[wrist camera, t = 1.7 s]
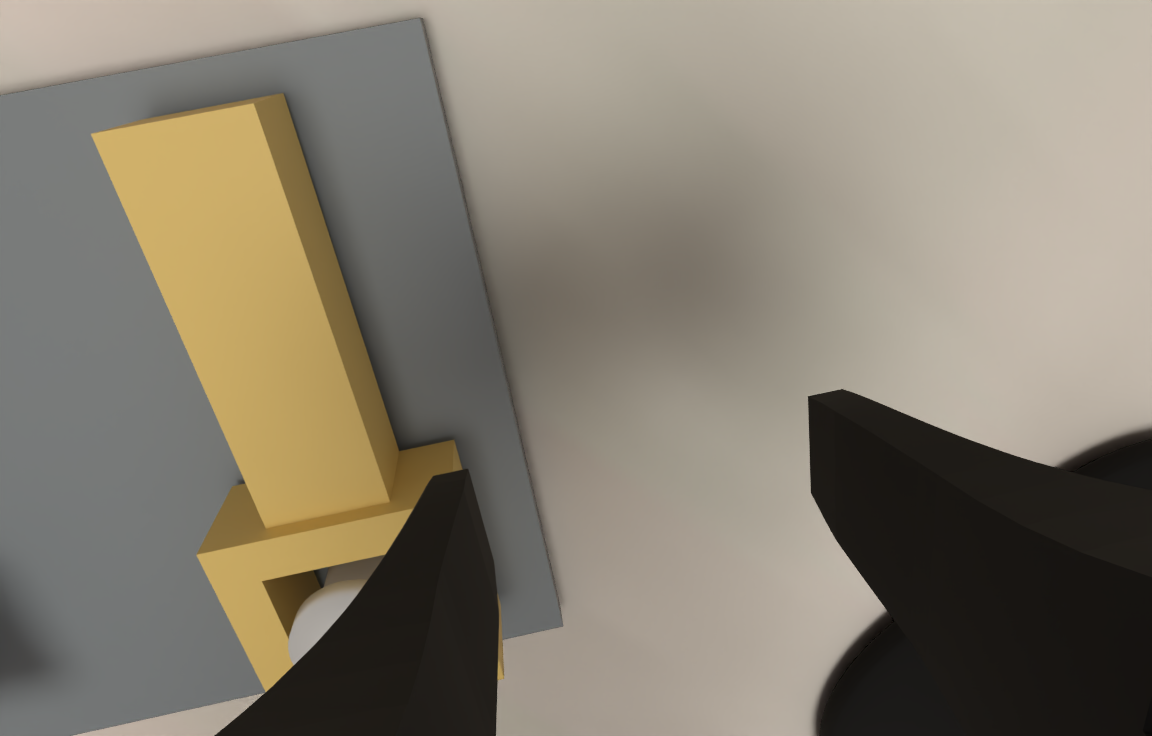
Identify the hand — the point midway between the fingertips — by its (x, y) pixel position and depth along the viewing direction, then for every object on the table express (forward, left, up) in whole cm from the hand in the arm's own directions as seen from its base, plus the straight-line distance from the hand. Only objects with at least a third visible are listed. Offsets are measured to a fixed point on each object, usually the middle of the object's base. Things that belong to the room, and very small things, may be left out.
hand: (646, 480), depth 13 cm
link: (-1, +8, -8) cm, 11 cm away
